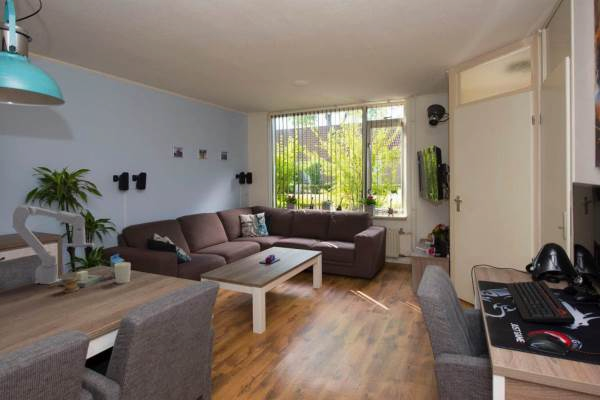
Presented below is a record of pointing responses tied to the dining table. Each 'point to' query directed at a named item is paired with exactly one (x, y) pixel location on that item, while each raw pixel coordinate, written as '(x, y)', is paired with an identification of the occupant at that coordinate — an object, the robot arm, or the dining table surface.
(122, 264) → the white cup
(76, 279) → the wooden knob
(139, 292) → the dining table surface
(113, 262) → the label tape box
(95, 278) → the notched board
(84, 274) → the tab block
